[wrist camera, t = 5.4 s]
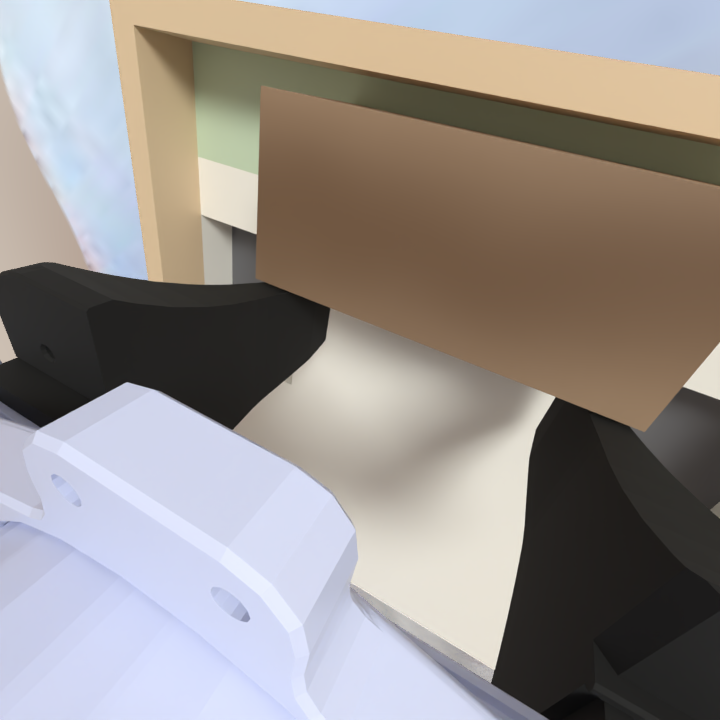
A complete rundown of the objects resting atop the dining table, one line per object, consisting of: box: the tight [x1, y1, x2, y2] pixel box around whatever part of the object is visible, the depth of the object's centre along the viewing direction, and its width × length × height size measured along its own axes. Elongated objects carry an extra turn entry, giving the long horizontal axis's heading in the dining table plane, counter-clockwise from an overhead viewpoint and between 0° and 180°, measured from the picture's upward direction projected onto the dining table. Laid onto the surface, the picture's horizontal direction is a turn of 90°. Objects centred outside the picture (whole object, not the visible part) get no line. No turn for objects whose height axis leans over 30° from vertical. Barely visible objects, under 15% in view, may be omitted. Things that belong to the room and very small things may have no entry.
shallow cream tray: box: [109, 0, 720, 670], centre depth 15 cm, size 24×22×4 cm
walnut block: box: [255, 86, 720, 432], centre depth 9 cm, size 4×9×4 cm, turn 78°
